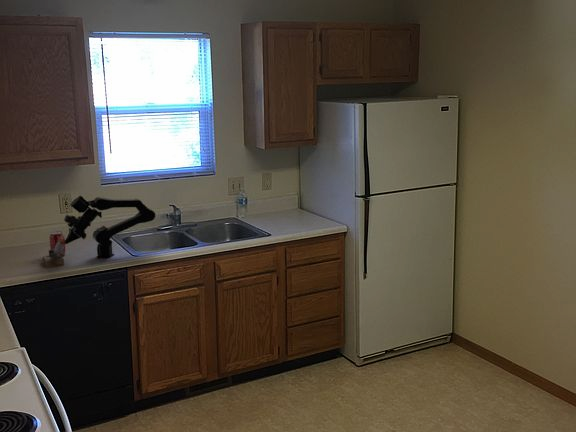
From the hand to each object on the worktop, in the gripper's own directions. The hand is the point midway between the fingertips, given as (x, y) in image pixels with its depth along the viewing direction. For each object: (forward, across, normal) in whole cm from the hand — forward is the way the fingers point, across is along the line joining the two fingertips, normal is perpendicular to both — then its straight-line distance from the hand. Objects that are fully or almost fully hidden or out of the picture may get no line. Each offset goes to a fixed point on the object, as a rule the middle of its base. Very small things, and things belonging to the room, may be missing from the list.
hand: (65, 243), depth 310 cm
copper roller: (+9, 0, 0) cm, 9 cm away
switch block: (+11, 0, +2) cm, 11 cm away
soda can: (+8, -14, +6) cm, 17 cm away
